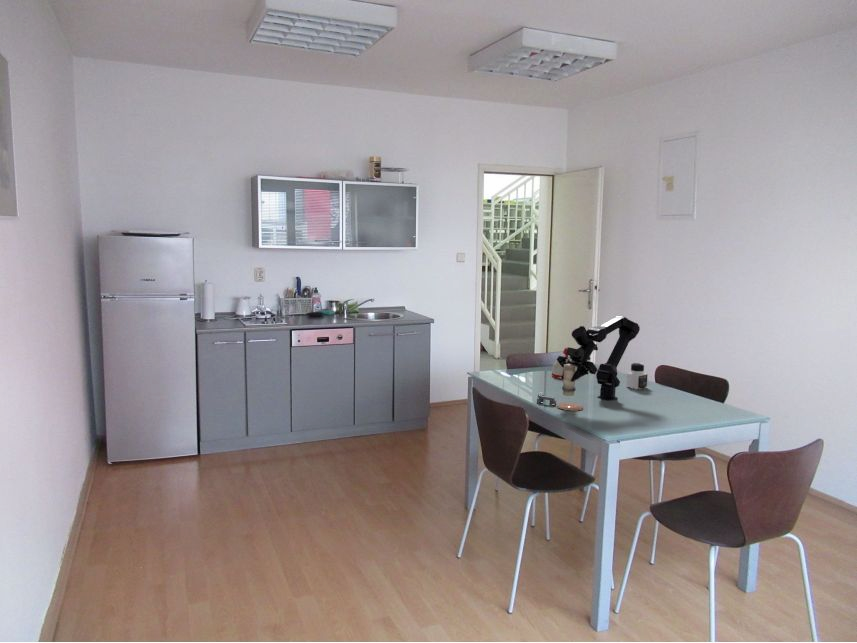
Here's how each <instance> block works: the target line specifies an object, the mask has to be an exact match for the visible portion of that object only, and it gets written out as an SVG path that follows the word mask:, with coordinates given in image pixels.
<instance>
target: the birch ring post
mask: <svg viewBox="0 0 857 643" xmlns="http://www.w3.org/2000/svg"><path fill="white" fill-rule="evenodd" d="M574 374H575V365H574V364H564V379H562V382H563V384H562V385H563V386H562V387H561V389H562V394H563V396H566V397H567V396H568V397H571V396H575V392H576V387H575V384H576V383H575V382H576V380H575V381H573V382H572V381H571V379H572V377H573V375H574Z"/></svg>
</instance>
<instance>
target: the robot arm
mask: <svg viewBox="0 0 857 643" xmlns="http://www.w3.org/2000/svg"><path fill="white" fill-rule="evenodd" d="M615 330H618V335H619V336H618V338H617V340H616V343H615V345H614V346H613V349H612V350H611V353H610V354H609V356H608V359H607V361H606V362H605V363H600V364H599V367H598V368H597V366H596V365H595V364H594V362H593V361H591V356H592V354H593V352H594V351H598V350H599V347H598V344H596V343H602V342H603V341H604V340H605V339H607V336H608V335H610V334H611V333H612V332H615ZM640 330H641V328H640V325H639V324H638V323H637V322H634V321H632V320H630V319H629V318H627V317H626V316H622V315H621V316H620V315H616V316H614V317H613V318H612V319H610V320H609V321H607V322H604V323H603V324H601V325H599V326H593V327H592V326H591V327H589V328H588V329H586V327H585V326H584V325H580V326H579V327H577V328H575V329H573V330H572V332H571V337H572V338H573V340H574V341H575V342H576V344H577V345H578V346H579V347H578V348H574V347H568V346H567V347H566V349H567V350H566V355H569V356H570V359H572V361H570V360H569V359H568V358H567V357H565V356H561V355H558V357H557V359H556V360H557V361H558V362H559V364H560V365H561V366H562V367H563V374H562V380H563V379H564V364H574V365H575V366H576V367H577V370H576V372H575V374H574V375H573V377H572V379H571V381H572V382H573V381H575V382H576V381H578V379H580V378H582V377H584V376H586V375H589V374H591V375H596V376H595V378H596V381H597V384H598V385H600V390H599V395H598V396H597V398H599V399H603V400H607V401H612V400H615V399H616V400H617V399H618V396H616V388H618V387H619V386H620V384H621V381H620V380H619V378H618V366H619V363H620V362H621V360H622V358H623V356H624V353H625V352H626V349H627V347H628V345H629V344H630V342H631V341H632V340H634V339H635V338H636V337H637V335H638V334H639V332H640ZM595 342H596V343H595Z"/></svg>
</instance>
